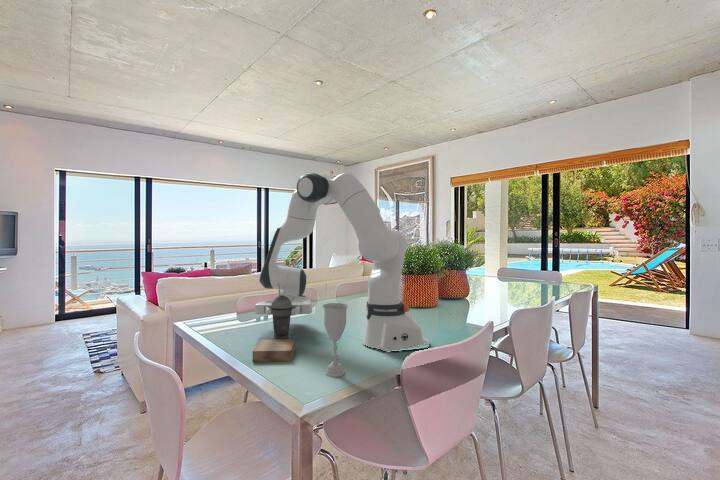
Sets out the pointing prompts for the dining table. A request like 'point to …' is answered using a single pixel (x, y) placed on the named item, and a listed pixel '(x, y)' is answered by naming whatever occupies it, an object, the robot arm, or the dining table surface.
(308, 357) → the dining table surface
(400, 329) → the robot arm
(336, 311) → the chalice
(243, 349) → the dining table surface
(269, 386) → the dining table surface
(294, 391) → the dining table surface
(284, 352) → the walnut plinth
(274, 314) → the beverage cup
